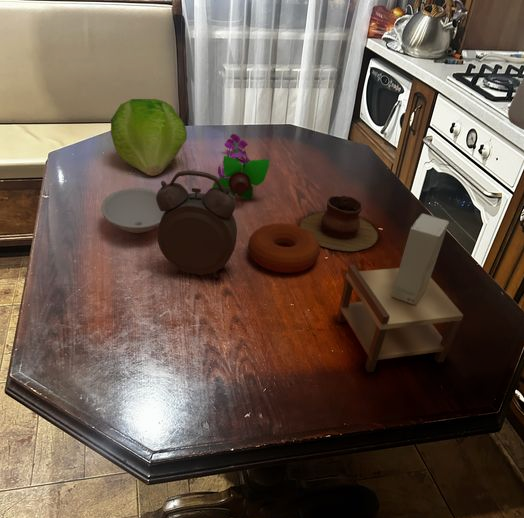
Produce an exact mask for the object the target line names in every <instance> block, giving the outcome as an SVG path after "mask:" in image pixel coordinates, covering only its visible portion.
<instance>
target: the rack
mask: <svg viewBox="0 0 524 518" xmlns="http://www.w3.org/2000/svg"><path fill="white" fill-rule="evenodd" d="M398 271H399V267H395V268H394V267H393V268H384V269H383V268H382V269H371V270H361V271H360V270H359V269H358V268H357V266H356V265H355V264H348V266H347V271H346V274H345V280H344V285H343V289H342V292H341V298H340V301H339V302H340V303H339V305H338V306H339V307H338V311H337V315H336V320H337V322H338V323H339V324H340V323H345V322H347V323H348V325H349V326H350V328H351V330H352V331H353V333H354V335H355V336H356V338H357V340H358V341H359V343H360V345H361V347H362V348H363V350H364V352H365V354H366V355H367V359H366V361H365V365H364V369H365V371H366V372H367V373H373V372H375V369H376V367H377V364H378V361H380V360H381V361H382V360H388V359H394V358H403V357H409V356H417V355H418V356H419V355H425V354H432V353H435V354H434V356H433V357H434V358H433V359H434V360H435V362H436V363H444V362H445V359H446V357H447V355H448V353H449V351H450V347H451V345H452V343H453V342H454V341H453V340H454V338H455V336H456V333H457V332H458V329H459V327H460V325H461V323H462V320H463V318H464V314H463V313H462V312H461V310H460V309H459V308H458V307H457V306H456V305H455V303H454V302H453V301H452V300H451V299H450V298H449V297H448V295H447V294H446V293H445V292H444V291H443V289H442V288H441V287H440V286H439V285H438V284H437V283H436V281H435V280H434V279H433V278H432V277H431V278H430V280H429V283H428V286H427V289H426V291H425V292H424V294H423V296H422V297H421V299H420V300H419V302H418V304H417V305H414V304H411V303H408V302H405V301H402V300H399V299H396V298H394V297H391V295H392V292H393V288H394V285H395V281H396V278H397V274H398ZM353 290H354V292H355V294H356V295H357V297H358V298H359V300H360V301H355V302H351V299H352V294H353ZM443 323H448V324H447V326H446V328H445V330H444V334H443V336H442V335H441V333H440V332H439V331H438V330H437V328H436V327H435V325H434V324H443Z"/></svg>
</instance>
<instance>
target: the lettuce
mask: <svg viewBox="0 0 524 518" xmlns="http://www.w3.org/2000/svg"><path fill="white" fill-rule="evenodd" d="M110 135H111V139H112V142H113V145H114V146H113V147H114V150H115V151H116V153H117V154H118V156H119V157H120V158H121V160H123V161H124V162H125V163H127V164H128V165H130V166H131V167H133V168H136V169H137V170H139V171H140V172H142V173H144V174H145V175H147V176H151V177H155V176H157V175H160V174H161V173H163V172H164V171H165V169H166V168H167V167H168V166H169V165H170V164H171V162H172V161H173V160H174V159H175V157H176V156H177V155H178V154H179V152H180V150H181V148H182V147H183V145H184V144H185V143H186V141H187V139H188V137H187V135H188V133H187V128H186V125H185V123H184V122H183V119H182V118H181V117H180V116H179V115H178V114H177V112H176V111H175V109H174V108H173V106H172V104H171V105H170V104H169V103H168V102H167V101H164V100H160V99H157V98H131V99H129V100H127V101H125V102H123V103H121V104H120V105H119V106H118V108H117V109H116V111H115V113H114V114H113V115H112V117H111V119H110Z"/></svg>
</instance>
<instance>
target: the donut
mask: <svg viewBox="0 0 524 518" xmlns="http://www.w3.org/2000/svg"><path fill="white" fill-rule="evenodd" d="M247 249H248V250H247V251H248V253H249V255H250V257H251V258H252V260H253V261H254V262H255V263H256V264H258V265H259V266H260V267H261V268H264V269H266V270H267V271H268V270H269V271H272V272H276V273H282V274H291V273H299V272H302V271H306V270H307V269H309V268H310V267H313V265H314V264H316V262H317V261H318V259H319V256H320V254H321V250H320V249H321V248H320V245H319V243H318V241H317V239H316V238H315V236H314V235H313V234H312V233H310V232H309V231H308V230H305V229H303V228H301V227H300V225H299V226H298V225H295V224H291V223H271V224H270V223H269V224H267V225H263V226H260V227H259V228H256V230H254V232H253V233H252V234H251V235H250V236H249V239H248V243H247Z"/></svg>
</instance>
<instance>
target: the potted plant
mask: <svg viewBox="0 0 524 518" xmlns="http://www.w3.org/2000/svg"><path fill="white" fill-rule="evenodd" d="M223 145H224V147H226V155H224V156H223V158H222V165H223V167H222V168H221V165H218V167H217V174H218V179H219V180H220V182H221V183H222V185H223V187H224V188H225V189H226V187H230V192H231V194H232V195H233V196H234V198H235V197H236V196H237V197H239V198H241V199H245V200H252V198H253V197H254V187H253V186H255V187H257V186H258V187H259V186H260V185H261V184H262V183H264V181H265V179H266V177H267V174H268V170H269V167H270V159H267V158H261V159H249V157H248V156H247V151H246V150H245V148H246V147H248V143H247V142H246V141H245V140H243V139H241V137H240V136H239V135H237V134H235V133H232V134H230V136H229V138H227V139H226V141H225V143H224V144H223ZM231 151H232V152H231ZM213 187H218V185H217V184H216V182H215V181H213V184H212V187H211V188H213Z"/></svg>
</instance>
